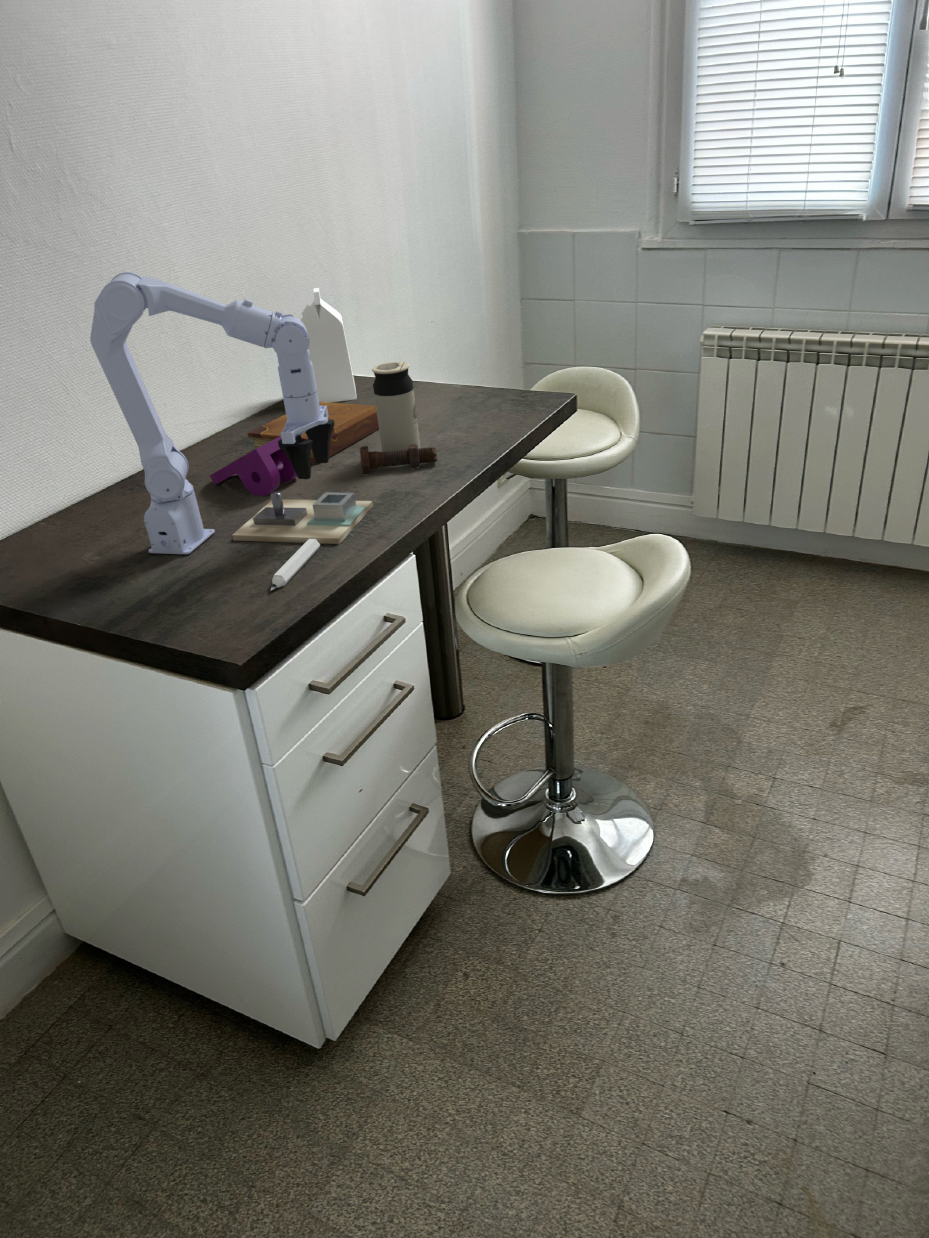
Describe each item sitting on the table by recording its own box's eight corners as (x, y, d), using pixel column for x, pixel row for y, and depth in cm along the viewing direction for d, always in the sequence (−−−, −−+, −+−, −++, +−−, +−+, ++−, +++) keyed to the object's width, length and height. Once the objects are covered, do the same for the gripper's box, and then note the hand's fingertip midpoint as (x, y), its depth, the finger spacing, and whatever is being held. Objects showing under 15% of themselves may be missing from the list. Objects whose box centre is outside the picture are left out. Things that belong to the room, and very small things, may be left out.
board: (339, 543, 153) (338, 536, 153) (233, 540, 159) (231, 533, 158) (372, 506, 166) (371, 499, 166) (273, 504, 172) (272, 497, 171)
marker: (271, 599, 140) (313, 553, 153) (281, 594, 139) (322, 547, 152) (261, 586, 139) (304, 540, 152) (270, 580, 138) (313, 535, 151)
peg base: (295, 525, 159) (290, 499, 157) (254, 524, 161) (248, 498, 159) (307, 514, 163) (302, 488, 161) (267, 513, 166) (261, 487, 163)
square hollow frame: (344, 521, 158) (342, 505, 157) (315, 520, 160) (312, 504, 158) (356, 508, 163) (354, 492, 161) (327, 508, 164) (325, 492, 163)
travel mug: (377, 459, 188) (365, 372, 180) (389, 446, 195) (377, 361, 186) (414, 459, 186) (403, 371, 178) (425, 446, 193) (415, 360, 184)
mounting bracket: (223, 517, 185) (279, 488, 174) (200, 480, 183) (255, 449, 172) (253, 499, 192) (308, 471, 181) (231, 464, 190) (286, 432, 179)
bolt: (438, 473, 184) (363, 480, 183) (435, 454, 186) (362, 461, 185) (437, 454, 179) (360, 461, 178) (435, 435, 181) (359, 441, 180)
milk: (356, 399, 230) (340, 291, 217) (311, 405, 229) (291, 297, 216) (355, 386, 240) (339, 283, 227) (311, 392, 239) (293, 288, 227)
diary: (321, 466, 190) (317, 439, 187) (253, 458, 199) (247, 433, 196) (382, 430, 207) (378, 405, 204) (316, 424, 216) (312, 400, 213)
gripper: (303, 406, 145) (317, 486, 152) (338, 380, 157) (350, 456, 164) (263, 406, 147) (279, 485, 154) (301, 380, 159) (314, 455, 166)
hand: (313, 470), depth 159 cm, fingers open, 7 cm apart
